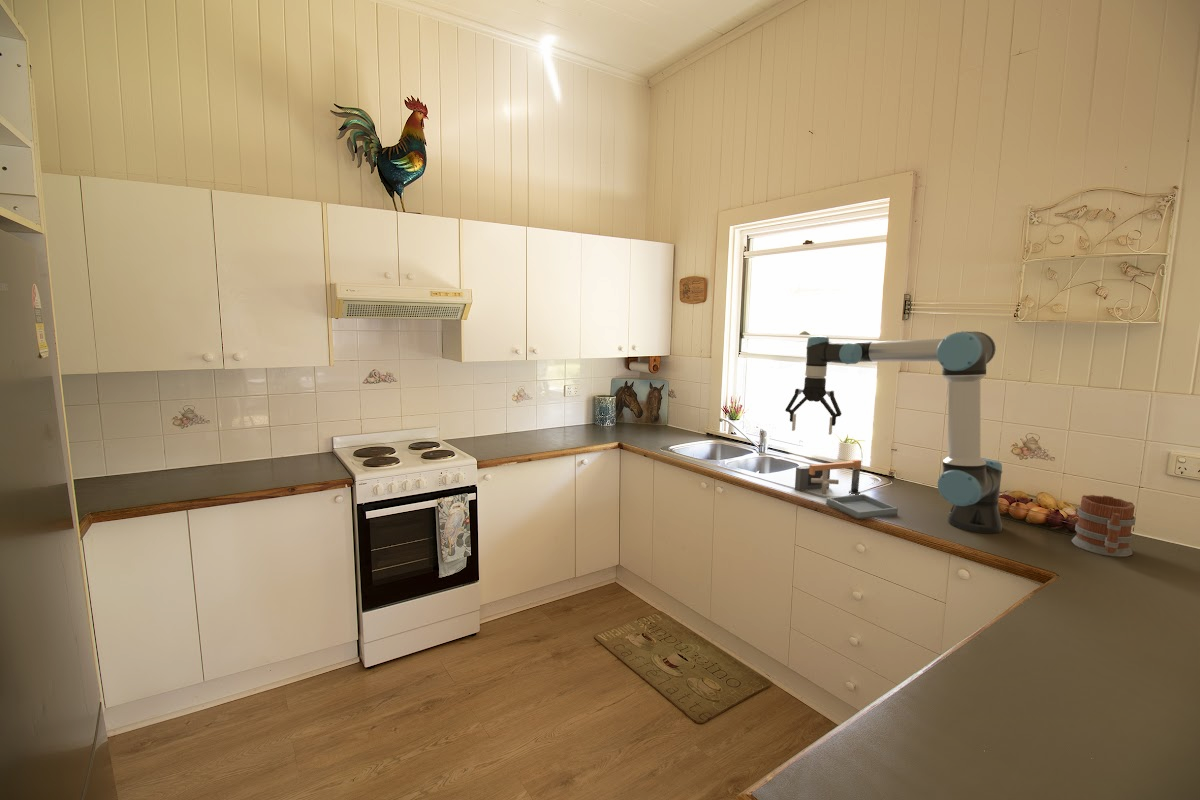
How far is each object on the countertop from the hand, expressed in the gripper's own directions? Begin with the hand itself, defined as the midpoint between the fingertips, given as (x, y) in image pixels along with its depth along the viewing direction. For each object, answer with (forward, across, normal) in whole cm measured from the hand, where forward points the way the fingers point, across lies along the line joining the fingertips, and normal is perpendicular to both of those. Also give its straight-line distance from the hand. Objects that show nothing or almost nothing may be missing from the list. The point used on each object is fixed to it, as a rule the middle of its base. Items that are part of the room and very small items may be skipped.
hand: (811, 432), depth 220 cm
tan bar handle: (+15, -9, -3) cm, 18 cm away
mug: (+25, -87, +13) cm, 91 cm away
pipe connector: (+25, -6, -4) cm, 26 cm away
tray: (+25, -20, +9) cm, 33 cm away
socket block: (+25, 0, -9) cm, 27 cm away
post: (+25, -16, -10) cm, 31 cm away
